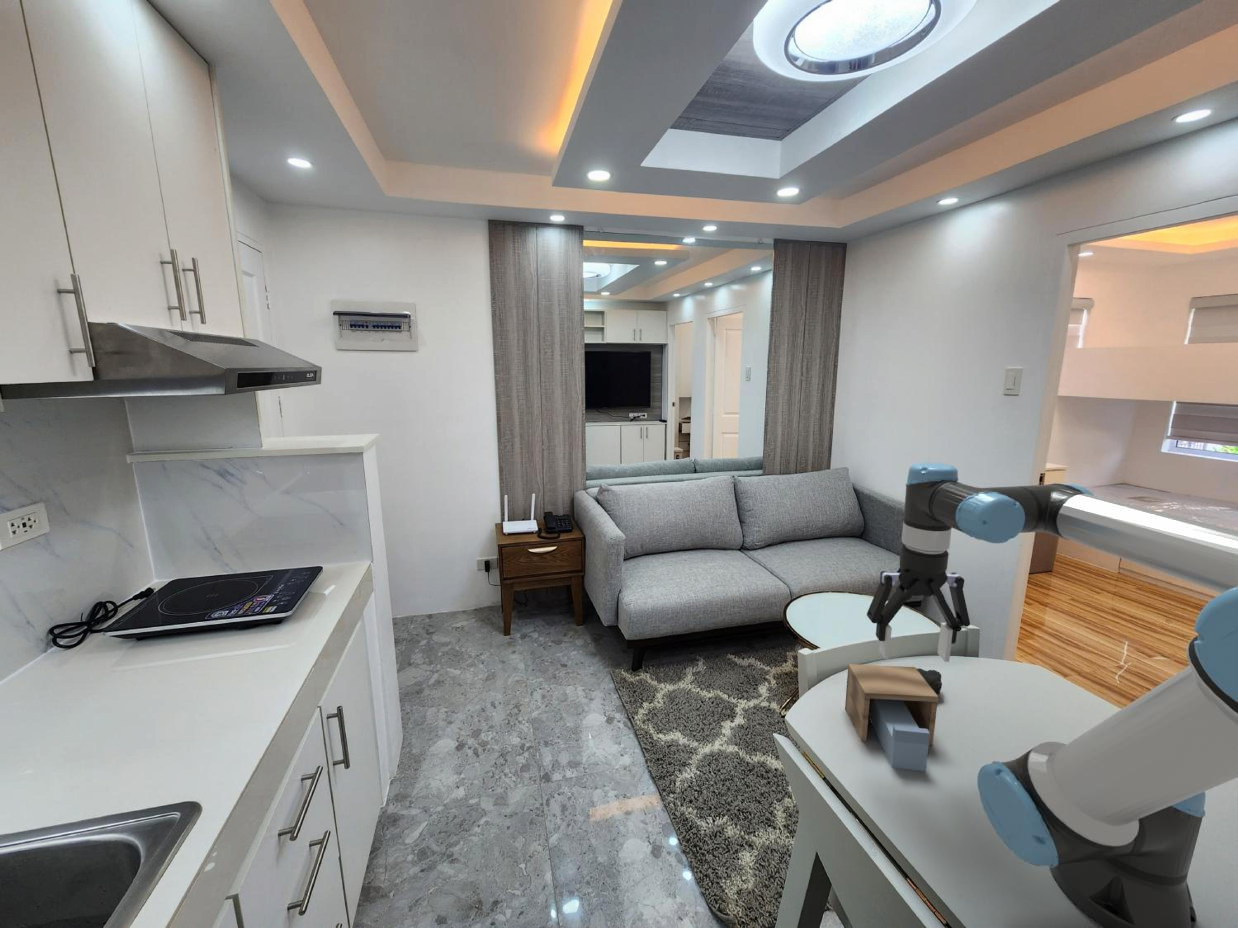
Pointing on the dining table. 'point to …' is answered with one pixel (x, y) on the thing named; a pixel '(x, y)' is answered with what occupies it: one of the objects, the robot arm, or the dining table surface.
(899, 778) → the dining table surface
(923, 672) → the rock
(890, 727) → the lidded box
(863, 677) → the open wooden crate
